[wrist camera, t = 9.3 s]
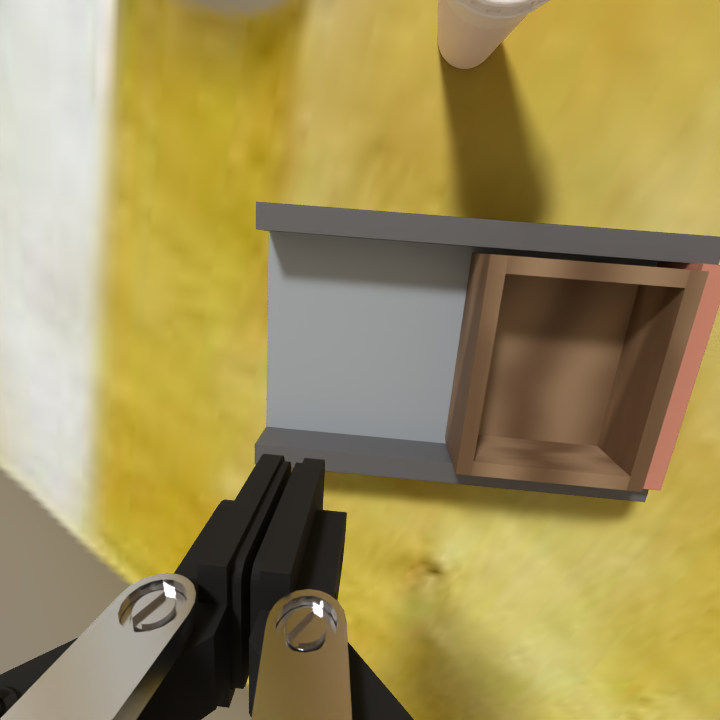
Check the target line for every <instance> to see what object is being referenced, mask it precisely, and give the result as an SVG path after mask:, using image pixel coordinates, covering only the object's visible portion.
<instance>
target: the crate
mask: <svg viewBox="0 0 720 720" xmlns="http://www.w3.org/2000/svg"><path fill="white" fill-rule="evenodd" d="M708 274H709V271H699V270H686V269H674V268H661V267H648V266H635V265H623V264H610V263H597V262H584V261H572V260H559V259H546V258H533V257H521V256H508V255H495V254H480V253H472V256H471V263H470V270H469V277H468V283H467V290H466V297H465V304H464V311H463V318H462V325H461V331H460V338H459V345H458V352H457V359H456V366H455V373H454V379H453V386H452V393H451V400H450V407H449V414H448V421H447V427H446V434H445V442H446V445H447V448H448V451H449V454H450V457H451V460H452V463H453V466H454V470H455V473H456V474H461V475H472V476H482V477H492V478H503V479H513V480H523V481H534V482H544V483H554V484H565V485H575V486H586V487H596V488H606V489H617V490H627V491H637V492H642V491H643V488H644V484H645V481H646V478H647V474H648V471H649V468H650V465H651V461H652V458H653V455H654V451H655V448H656V445H657V442H658V438H659V435H660V432H661V428H662V425H663V422H664V418H665V415H666V412H667V409H668V405H669V402H670V399H671V395H672V392H673V389H674V386H675V382H676V379H677V376H678V372H679V369H680V366H681V363H682V359H683V356H684V353H685V349H686V346H687V343H688V340H689V336H690V333H691V330H692V326H693V323H694V320H695V317H696V313H697V310H698V307H699V303H700V300H701V297H702V294H703V290H704V287H705V284H706V280H707V277H708Z"/></svg>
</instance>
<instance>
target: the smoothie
mask: <svg viewBox="0 0 720 720" xmlns="http://www.w3.org/2000/svg"><path fill="white" fill-rule="evenodd" d="M548 1H549V0H438V25H437V41H438V47H439V50H440V53H441V55H442V56H443V58H444V59H445V60H446V61H447V62H448V63H449V64H450V65H452V66H453V67H456V68H459V69H470V68H474V67H476V66H478V65H480V64H481V63H482V62H484V61H485V60H486V59H487V58H488V57H489V56H490V55H491V53H492V52H493V51H494V50H495V49H496V48H497V47H498V46H499V45H500V44H501V43H502V41H503V40H504V39H505V38H506V37H507V36H508V35H509V34H510V33H511V32H512V31H513V30H514V28H515V27H516V26H517V25H518V24H519V23H520V22H521V21H522V20H523V19H524V18H525V17H526V15H527V14H528V13H531V12H532V11H534V10H535V9H537V8H538V7H540V6H541V5H543V4H544V3H546V2H548Z"/></svg>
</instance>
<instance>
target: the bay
mask: <svg viewBox="0 0 720 720" xmlns="http://www.w3.org/2000/svg"><path fill="white" fill-rule="evenodd" d="M256 229H258V230H265V231H269V278H268V350H267V423H266V428H265V430H264V431H263V433H262V434H261V436H260V437H259V439H258V440H257V442H256V443H255V464H257V462H258V461H259V459H260V457H261V456H262V454H273V455H283V456H284V458H285V461H289V462H291V468H294V466H295V464H296V462H299V463H302V462H303V460H304V458H313V459H323V460H325V471H331V472H341V473H351V474H362V475H372V476H382V477H392V478H403V479H413V480H423V481H434V482H444V483H454V484H464V485H475V486H485V487H495V488H506V489H516V490H526V491H536V492H547V493H557V494H567V495H578V496H588V497H598V498H608V499H619V500H629V501H639V502H645V500H646V497H647V494H648V490H649V489H650V490H661V487H662V484H663V481H664V478H665V475H666V472H667V468H668V465H669V462H670V459H671V456H672V453H673V450H674V446H675V443H676V440H677V437H678V434H679V431H680V428H681V424H682V421H683V418H684V415H685V412H686V409H687V406H688V402H689V399H690V396H691V393H692V390H693V387H694V384H695V380H696V377H697V374H698V371H699V368H700V365H701V361H702V358H703V355H704V352H705V349H706V346H707V343H708V339H709V336H710V333H711V330H712V327H713V324H714V321H715V317H716V314H717V311H718V308H719V305H720V265H718V264H719V260H720V237H716V236H703V235H690V234H676V233H663V232H650V231H637V230H623V229H610V228H597V227H584V226H571V225H557V224H544V223H531V222H518V221H504V220H491V219H478V218H465V217H451V216H438V215H425V214H412V213H399V212H385V211H372V210H359V209H346V208H332V207H319V206H306V205H293V204H279V203H266V202H256ZM472 253H480V254H495V255H508V256H521V257H533V258H546V259H559V260H572V261H584V262H597V263H610V264H623V265H635V266H648V267H661V268H674V269H686V270H699V271H709V274H708V277H707V280H706V284H705V287H704V290H703V294H702V297H701V300H700V303H699V307H698V310H697V313H696V317H695V320H694V323H693V326H692V330H691V333H690V336H689V340H688V343H687V346H686V349H685V353H684V356H683V359H682V363H681V366H680V369H679V372H678V376H677V379H676V382H675V386H674V389H673V392H672V395H671V399H670V402H669V405H668V409H667V412H666V415H665V418H664V422H663V425H662V428H661V432H660V435H659V438H658V442H657V445H656V448H655V451H654V455H653V458H652V461H651V465H650V468H649V471H648V474H647V478H646V481H645V484H644V488H643V491H642V492H637V491H627V490H617V489H606V488H596V487H586V486H575V485H565V484H554V483H544V482H534V481H523V480H513V479H503V478H492V477H482V476H472V475H461V474H456V473H455V470H454V466H453V463H452V460H451V457H450V454H449V451H448V448H447V445H446V442H445V434H446V427H447V421H448V414H449V407H450V400H451V393H452V386H453V379H454V373H455V366H456V359H457V352H458V345H459V338H460V331H461V325H462V318H463V311H464V304H465V297H466V290H467V283H468V277H469V270H470V263H471V256H472Z"/></svg>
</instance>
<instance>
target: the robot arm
mask: <svg viewBox="0 0 720 720" xmlns="http://www.w3.org/2000/svg"><path fill="white" fill-rule="evenodd" d="M324 476H325V460H323V459H313V458H304V460H303V462H302V463H299V462H296V464H295V466H294V468H293V470H292V473H291V462H289V461H285V458H284V456H283V455H273V454H262V456H261V457H260V459H259V461H258V462H257V464H256V466H255V467H254V469H253V471H252V472H251V474H250V476H249V477H248V479H247V481H246V482H245V484H244V486H243V487H242V489H241V491H240V492H239V494H238V496H237V497H236V499H235V501H233V500H223V501H221V503H220V504H219V505H218V507H217V508H216V510H215V511H214V513H213V514H212V516H211V517H210V519H209V521H208V522H207V524H206V525H205V527H204V528H203V530H202V531H201V533H200V534H199V536H198V537H197V539H196V540H195V542H194V544H193V545H192V547H191V548H190V550H189V551H188V553H187V554H186V556H185V557H184V559H183V560H182V562H181V563H180V565H179V567H178V568H177V570H176V571H175V573H174V574H171V573H165V574H157V575H153V576H150V577H147V578H144V579H142V580H140V581H138V582H136V583H135V584H133V585H131V586H130V587H128V588H127V589H126V590H125V591H124V592H122V593H121V594H120V595H119V596H118V597H117V598H116V599H115V600H114V602H112V604H110V606H108V608H107V609H106V610H105V611H104V612H103V613H102V614H101V615H100V616H99V617H98V618H97V619H96V620H95V621H94V622H93V623H92V624H91V625H90V626H89V627H88V628H87V629H86V630H85V631H84V632H83V634H82V635H80V637H78V638H76V639H74V640H72V641H70V642H68V643H66V644H64V645H61V646H59V647H57V648H55V649H53V650H51V651H49V652H47V653H45V654H43V655H41V656H38V657H37V658H34V659H32V660H30V661H28V662H26V663H24V664H22V665H20V666H18V667H15V668H13V669H11V670H9V671H7V672H5V673H3V674H1V675H0V720H201V719H202V718H204V717H205V716H207V715H208V714H210V713H211V712H212V711H214V710H215V709H216V708H217V706H220V707H228V708H229V706H230V703H231V700H232V697H233V694H234V691H235V688H240V689H243V688H244V687H245V685H246V682H247V679H248V676H249V714H250V716H251V718H252V719H251V720H414V719H413V718H412V717H411V716H410V715H409V713H408V712H407V711H406V710H405V709H404V707H403V706H402V705H401V704H400V703H399V702H398V700H397V699H396V698H395V697H394V696H393V695H392V693H391V692H390V691H389V690H388V689H387V687H386V686H385V685H384V684H383V683H382V682H381V680H380V679H379V678H378V677H377V676H376V675H375V673H374V672H373V671H372V670H371V669H370V667H369V666H368V665H367V664H366V663H365V662H364V660H363V659H362V658H361V657H360V656H359V655H358V653H357V652H356V651H355V650H354V649H353V647H352V646H351V645H350V644H349V643H348V640H347V622H346V617H345V613H344V610H343V608H342V607H341V605H340V604H339V602H338V601H337V599H338V592H339V585H340V578H341V570H342V562H343V553H344V543H345V531H346V517H347V513H346V512H337V511H327V510H323V493H324Z"/></svg>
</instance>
